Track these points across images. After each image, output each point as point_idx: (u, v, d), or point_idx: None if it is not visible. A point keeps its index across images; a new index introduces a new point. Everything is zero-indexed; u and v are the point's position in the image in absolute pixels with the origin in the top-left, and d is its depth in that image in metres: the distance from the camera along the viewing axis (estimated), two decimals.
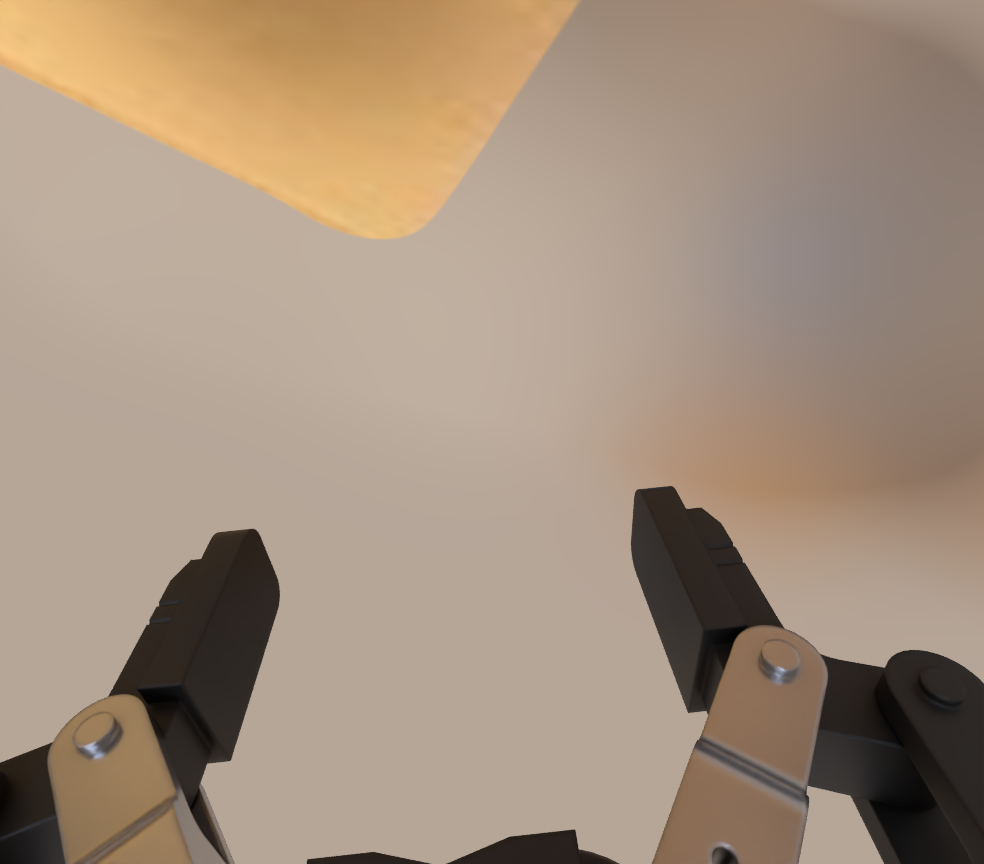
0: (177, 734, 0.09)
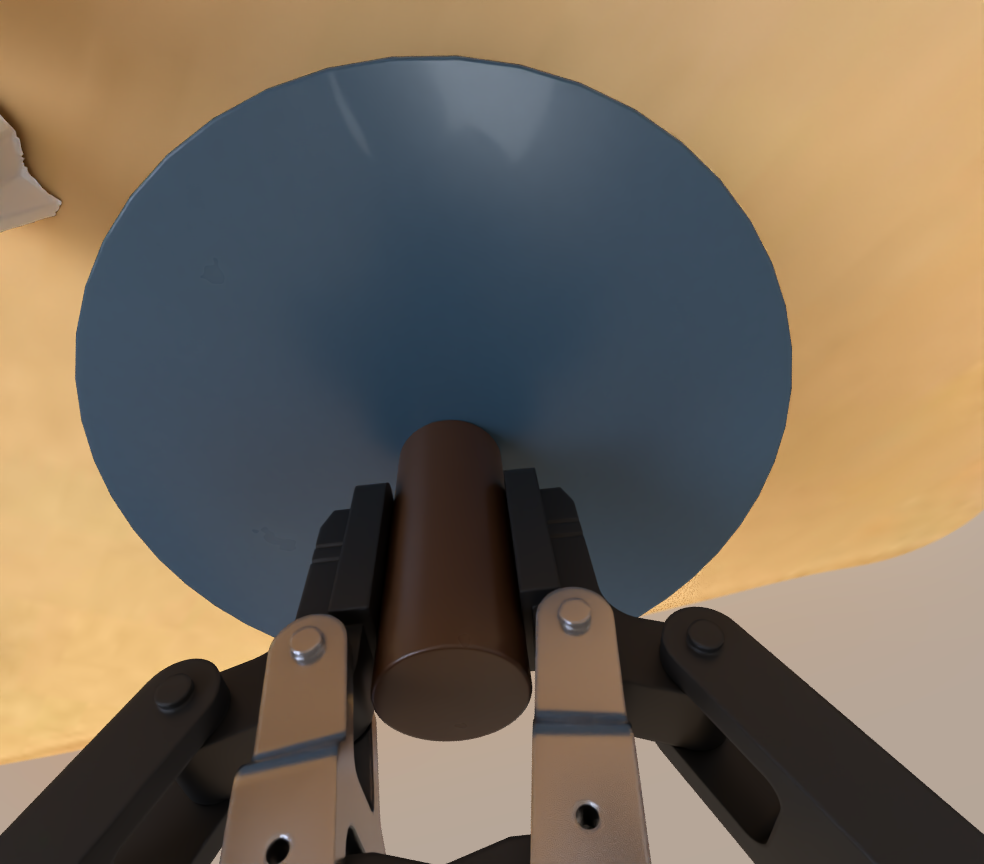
0: (362, 653, 0.10)
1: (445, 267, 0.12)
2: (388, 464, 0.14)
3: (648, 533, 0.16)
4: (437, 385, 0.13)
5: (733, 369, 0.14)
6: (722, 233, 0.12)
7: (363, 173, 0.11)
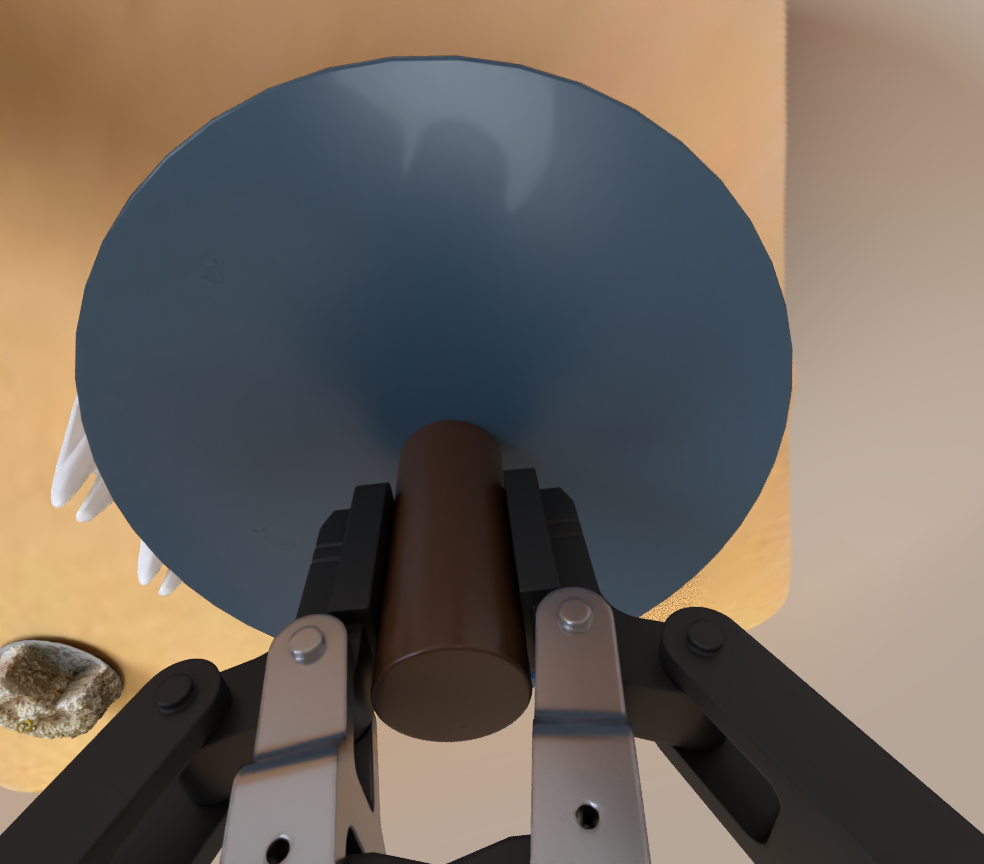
0: (363, 653, 0.10)
1: (444, 267, 0.12)
2: (388, 464, 0.14)
3: (648, 533, 0.16)
4: (436, 385, 0.13)
5: (733, 369, 0.14)
6: (722, 233, 0.12)
7: (362, 173, 0.11)
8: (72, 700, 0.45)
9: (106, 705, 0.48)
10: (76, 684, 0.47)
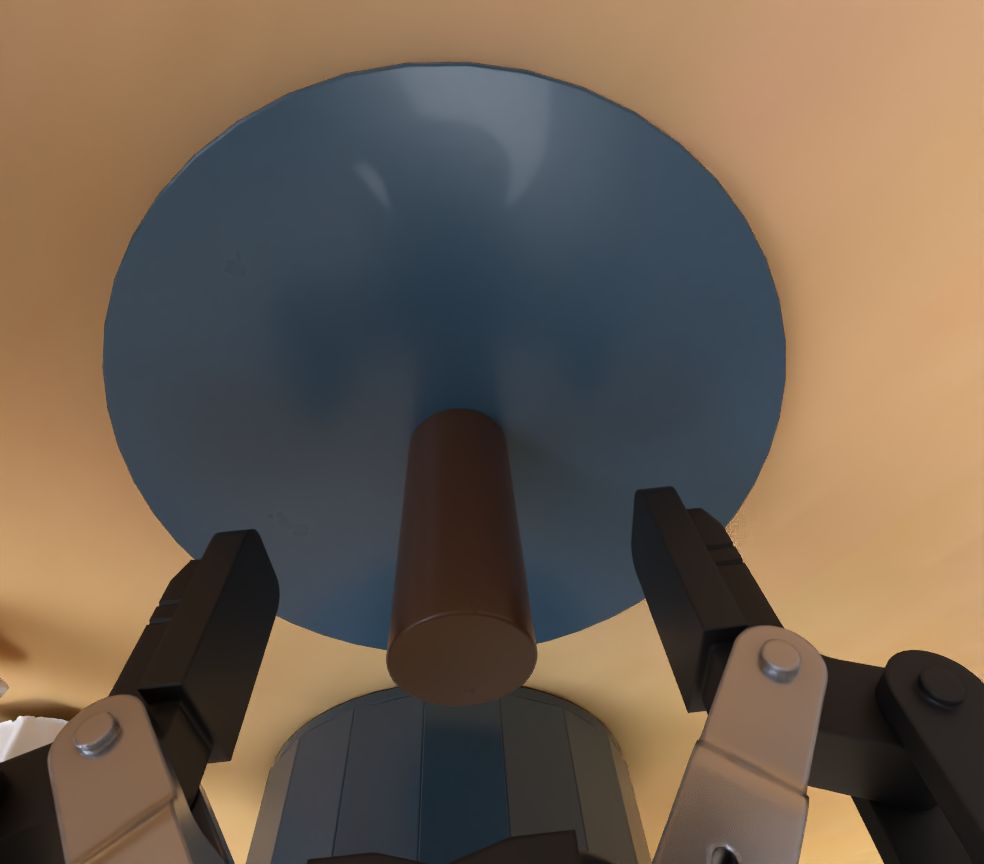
0: (177, 734, 0.09)
1: (455, 262, 0.13)
2: (398, 451, 0.15)
3: None
4: (446, 374, 0.14)
5: (729, 360, 0.14)
6: (718, 230, 0.13)
7: (378, 172, 0.11)
8: None
9: None
10: None
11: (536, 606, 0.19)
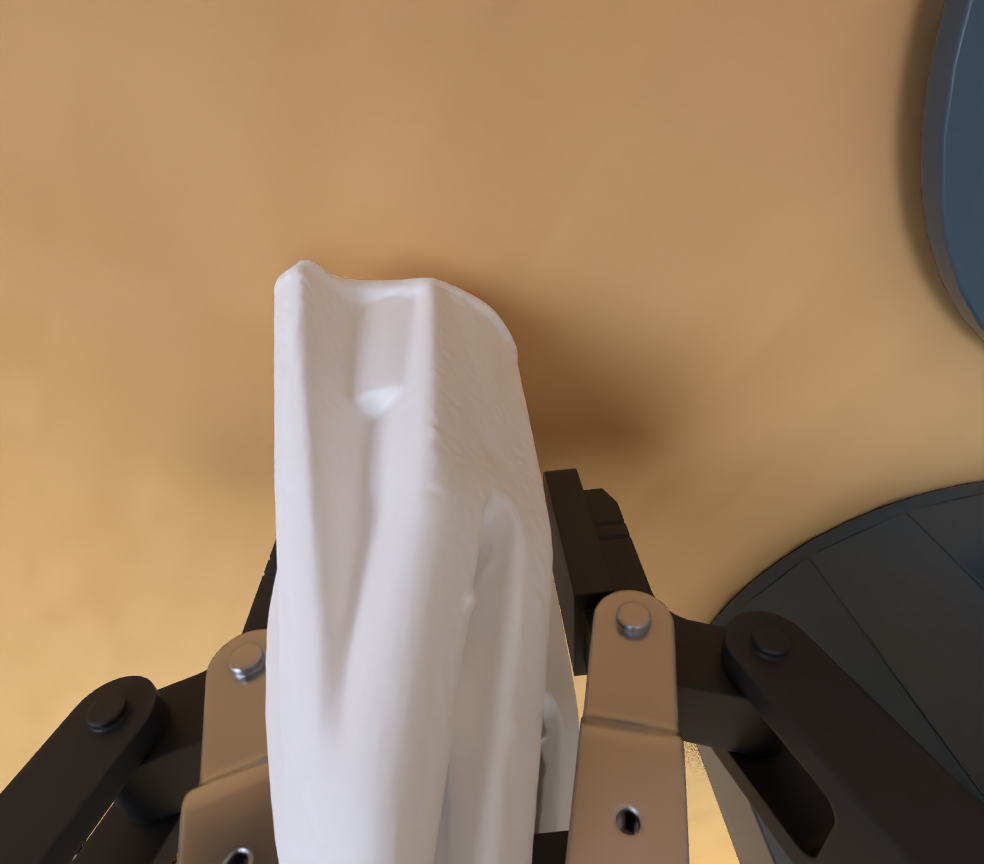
0: None
1: None
2: None
3: None
4: None
5: None
6: None
7: None
8: None
9: None
10: None
11: None
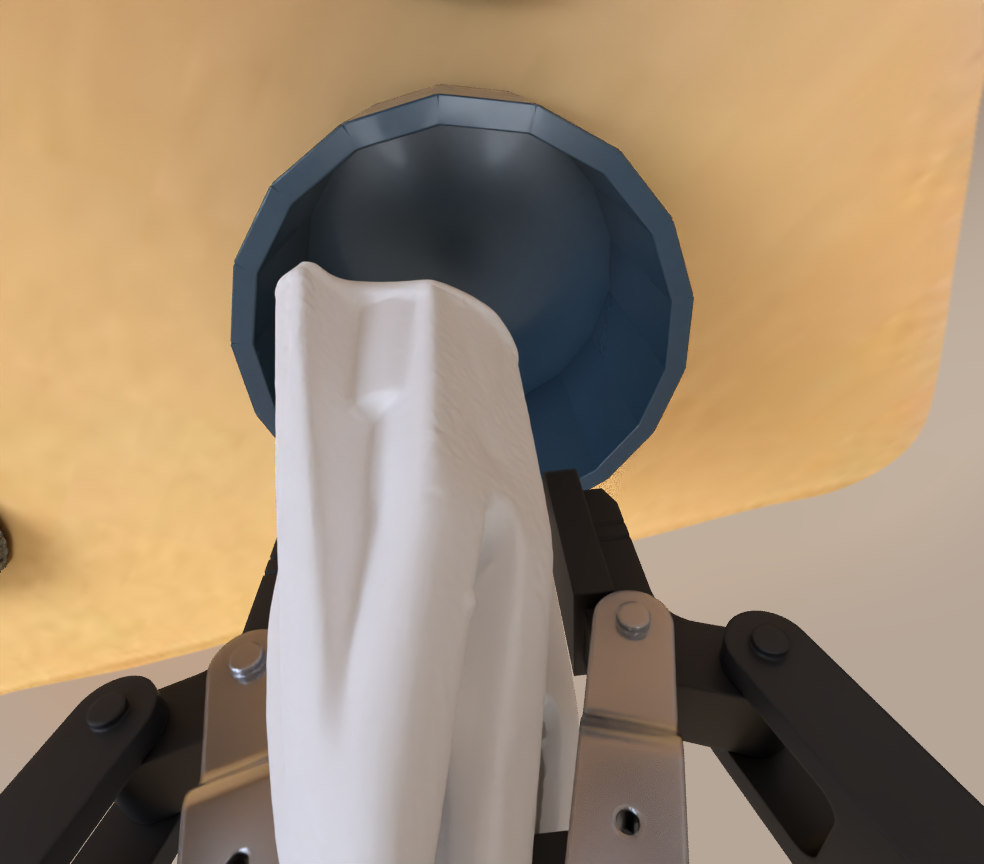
0: None
1: None
2: None
3: None
4: None
5: None
6: None
7: None
8: None
9: None
10: None
11: None
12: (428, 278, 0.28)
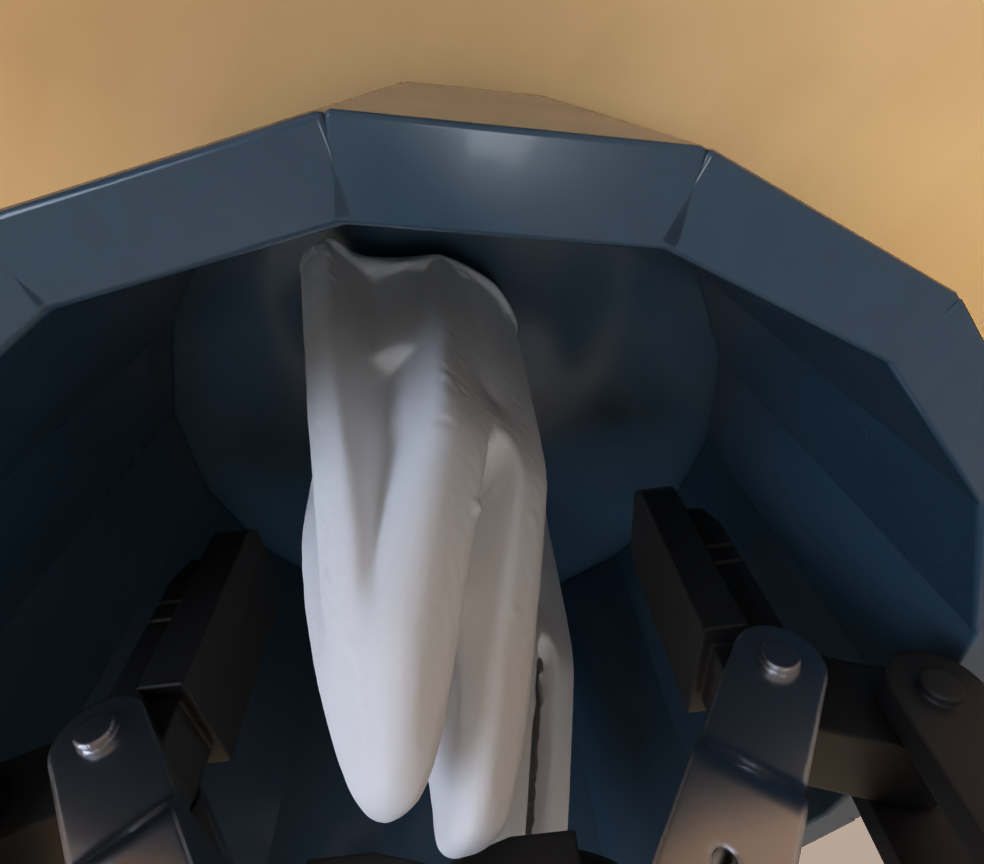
0: (177, 734, 0.09)
1: None
2: None
3: None
4: None
5: None
6: None
7: None
8: None
9: None
10: None
11: None
12: None
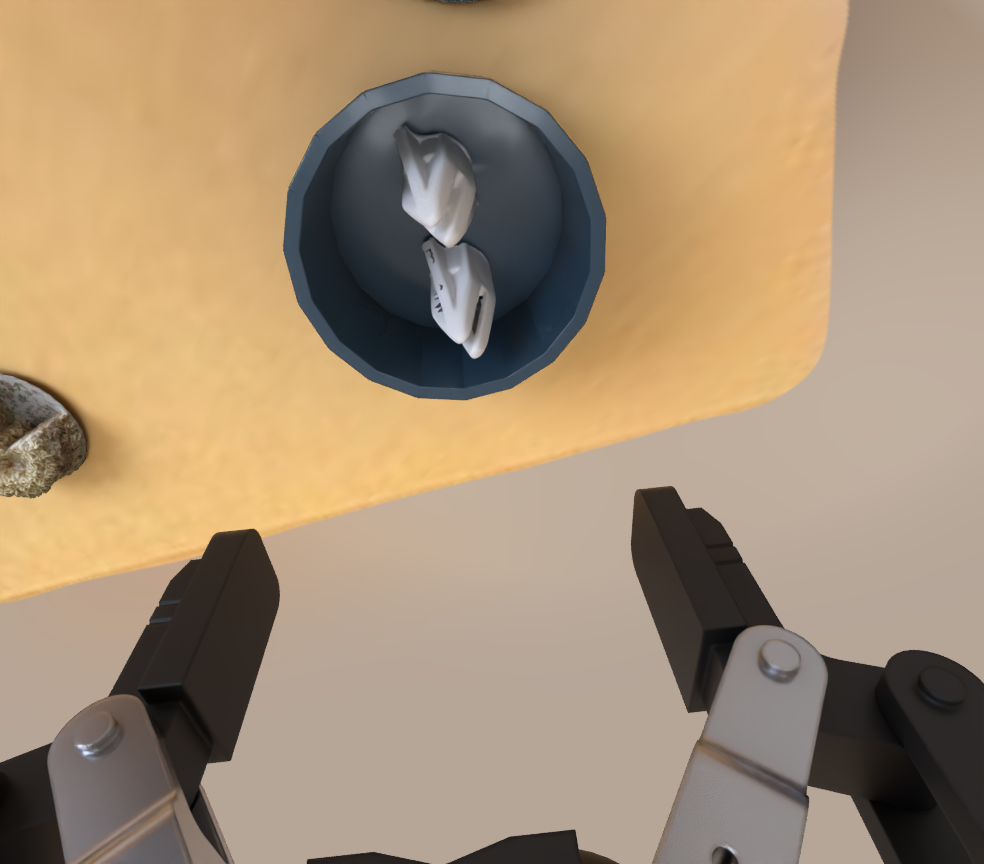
0: (177, 734, 0.09)
1: None
2: None
3: None
4: None
5: None
6: None
7: None
8: (26, 438, 0.41)
9: (67, 460, 0.43)
10: (33, 430, 0.42)
11: None
12: None
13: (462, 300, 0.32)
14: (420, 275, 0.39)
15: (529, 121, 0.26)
